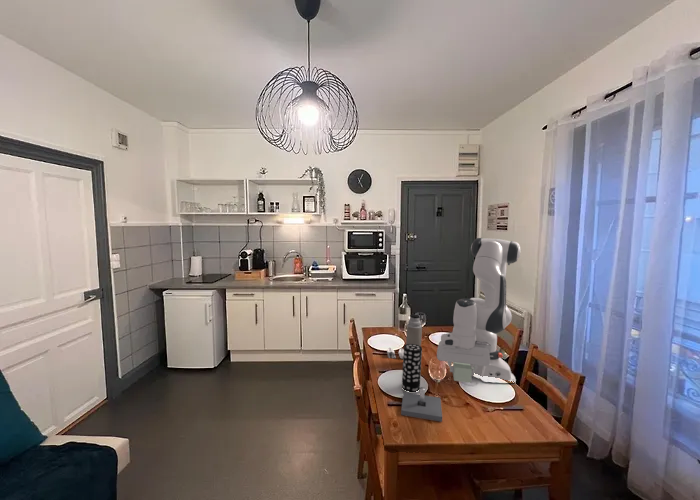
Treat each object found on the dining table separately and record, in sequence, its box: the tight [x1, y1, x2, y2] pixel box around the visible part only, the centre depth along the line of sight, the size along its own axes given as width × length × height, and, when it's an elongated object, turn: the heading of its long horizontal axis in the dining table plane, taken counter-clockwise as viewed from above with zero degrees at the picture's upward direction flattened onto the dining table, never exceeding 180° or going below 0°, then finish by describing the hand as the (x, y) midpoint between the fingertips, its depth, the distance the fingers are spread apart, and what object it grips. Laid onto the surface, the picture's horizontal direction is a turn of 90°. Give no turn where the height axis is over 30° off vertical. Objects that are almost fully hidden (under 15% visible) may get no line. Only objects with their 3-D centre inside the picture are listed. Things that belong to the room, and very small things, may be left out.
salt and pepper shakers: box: [386, 347, 404, 360], centre depth 184 cm, size 12×4×11 cm
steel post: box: [419, 386, 426, 407], centre depth 132 cm, size 2×2×8 cm
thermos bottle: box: [405, 313, 423, 347], centre depth 171 cm, size 8×8×28 cm
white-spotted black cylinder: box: [401, 343, 423, 393], centre depth 147 cm, size 8×8×20 cm
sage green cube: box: [452, 362, 473, 384], centre depth 127 cm, size 6×6×6 cm
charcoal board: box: [400, 391, 443, 423], centre depth 132 cm, size 16×14×2 cm
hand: (461, 372), depth 127 cm, fingers closed on sage green cube, 6 cm apart
